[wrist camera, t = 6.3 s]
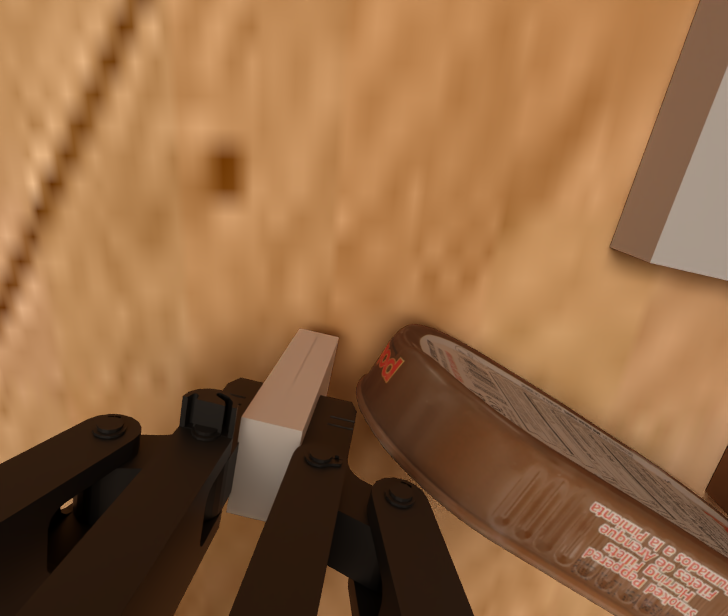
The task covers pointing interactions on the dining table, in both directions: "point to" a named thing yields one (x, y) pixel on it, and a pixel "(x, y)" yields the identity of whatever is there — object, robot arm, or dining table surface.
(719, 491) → the wooden block
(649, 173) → the socket block
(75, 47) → the dining table surface
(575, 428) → the tin
